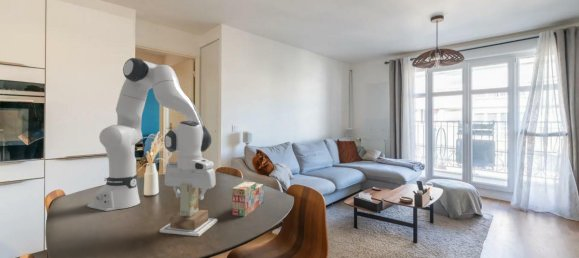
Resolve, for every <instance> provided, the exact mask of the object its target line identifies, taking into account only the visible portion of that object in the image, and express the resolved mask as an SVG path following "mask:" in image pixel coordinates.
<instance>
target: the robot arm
mask: <svg viewBox="0 0 579 258" xmlns="http://www.w3.org/2000/svg"><path fill="white" fill-rule="evenodd" d="M122 73H123V76H124V77H125V80H124V82H123V83H122V86H121V89H120V91H119V96H118V100H117V104H116V108H115V113H116V115H117V116H116V117H117V119H116V120H117V122H116V124H111V125H109V126H106V127H105V128H103V129H102V130H101V132H100V133H99V137H98V138H99V142H100V143H101V145H102V146H103V147H104V149H105V153H106V155H107V159H108V174H109V176H108V177H105V178H104V180H103V181H104V182H106V183H105V184H104V185H103V186H102V187H101V188H99V189H98V190H97V191H96V192H95V193H94V195H93V201H91V202H89V203H88V204H87V206H86V207H87V208H92V209H94V210H99V211H105V212H109V211H115V210H121V209H127V208H128V209H129V208H132V207H134V206H135V207H136V206H137V205H139V204H140V203H141V200H140V195H139V189H138V179H139V178H138V174H137V158H136V156H135V155H134V152H133V149H132V146H134V145H136V144H137V143H139V142H140V141H141V140H142V137H143V131H142V121H143V120H142V116H143V113H144V109H145V105H146V101H147V99H148V98H147V97H148V94H149V91H150V90H151V89H152V91H153V95H154V98H155V100H156V102H157V103H158V104H159V105H161V106H162V107H164V108H167V109H171V110H173V111H176V112H179V113H180V114H182V115H184V116H185V117H186V119H187V120H182V121H180V122H178V125H177V127H175V128H173V129H170V130H168V131H167V133H166V134H165V135H164V140H163V141H164V147H165V149H166V150H167V151H169V152H170V153H177V162H176V161H175V162H172V161H171V162H170V161H169V162H168V163H166V165H165V172H164V185H165V186H166V187H173V188H172V190H173V191H174V193H175V197H176V199H180V184H191V185H192V188H198V189H200V194H198V201H199V200H200V201H202V200H204V198H205V193H206V192H207V190H211V189H214V187H216V184H217V182H216V180H217V179H216V170H215V169H214V166H215V163H214V161H212V160H209V159H207V158H204V157H203V155H202V154H203V152H206V151H207V150H208V149H209V147H210V146H211V144H212V136H211V134H210V131H208V129H207V127H206V126H205V124H204V122H203V120H202V118H201V115H200V113H199V112H198V110H197V108H196V106H195V103H194V101H193V100H192V99H191V98H190V97H189V96H187V95H186V94H185V92H184V90H183V89H182V88H181V85H180V81H179V78H178V76H177V74H176V71H175V70H174V69H173V68H172V67H171V66H170V65H166V64H157V63H154V62H150V61H146V60H142V59H141V58H138V57H132V58H128V59H127V60H126V61H125V63H124V64H123V68H122Z"/></svg>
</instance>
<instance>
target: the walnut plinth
mask: <svg viewBox="0 0 579 258" xmlns="http://www.w3.org/2000/svg"><path fill="white" fill-rule="evenodd" d="M208 218H209V210H207V209H198V212H197V213H195V214H194V215H192V216H190V217H188V216H180V211H179V212H178V213H176V214H174V215H172V216H170V218H169V220H170V221H169V222H170V223H169V224H170V228H175V229H185V230H194V231H195V230H196V229H197V228H199V227H200V226H201V225H203V224H204V223H205V222H207V221H208Z"/></svg>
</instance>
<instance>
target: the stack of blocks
mask: <svg viewBox="0 0 579 258" xmlns="http://www.w3.org/2000/svg"><path fill="white" fill-rule="evenodd" d="M264 188H265V187H264V184H263V183H257V182H255V181H253V182H252V181H244V182H242V183H239V184H238V185H236V186H234V187H232V191H231V193H232V196H231V197H232V201H231V203H232V207H231V212H232V213H231V215H232V216H236V217H243V218H244V217H246V216H248V215H249V214H251V213H252V212H253V211H255V209H256V208H257V206H258V207H259V206H260V205H261V203H262V202H263V203H264V201H265V200H264V197H265V190H264ZM263 203H262V204H263Z"/></svg>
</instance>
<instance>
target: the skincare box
mask: <svg viewBox="0 0 579 258" xmlns="http://www.w3.org/2000/svg"><path fill="white" fill-rule="evenodd" d="M179 191H180V198H179V212H180V216H188V217H190V216H192V215H194V214H195V213H197V212H198V210H199V199H198V195H199V188H192V185H191V184H180V188H179Z"/></svg>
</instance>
